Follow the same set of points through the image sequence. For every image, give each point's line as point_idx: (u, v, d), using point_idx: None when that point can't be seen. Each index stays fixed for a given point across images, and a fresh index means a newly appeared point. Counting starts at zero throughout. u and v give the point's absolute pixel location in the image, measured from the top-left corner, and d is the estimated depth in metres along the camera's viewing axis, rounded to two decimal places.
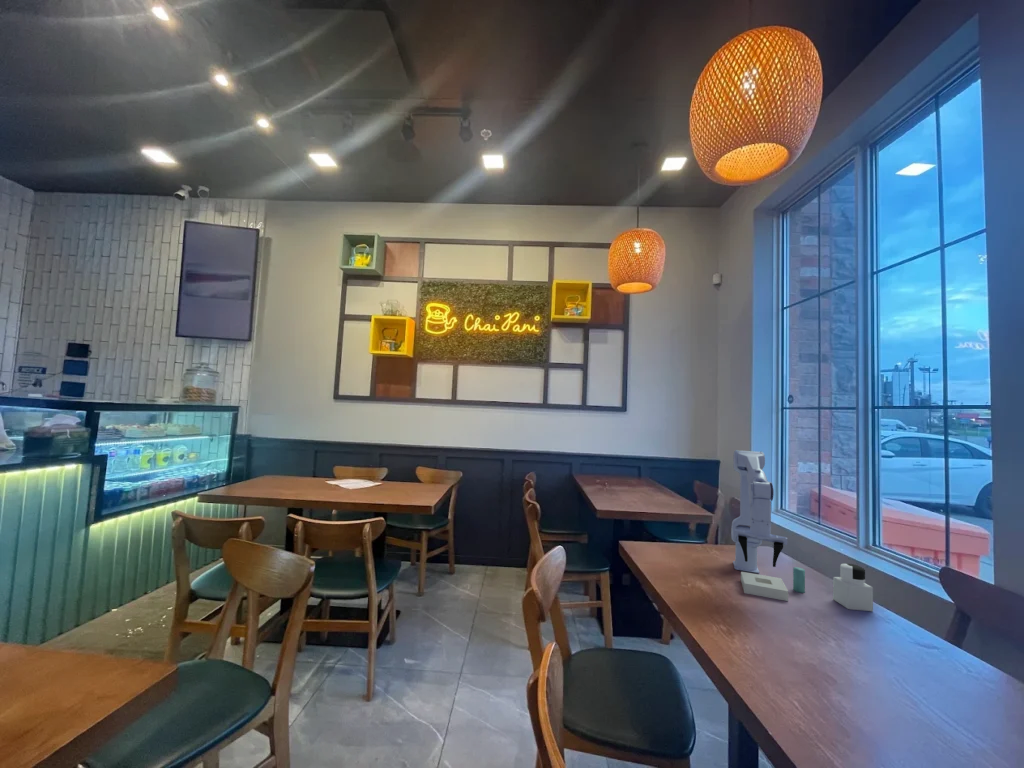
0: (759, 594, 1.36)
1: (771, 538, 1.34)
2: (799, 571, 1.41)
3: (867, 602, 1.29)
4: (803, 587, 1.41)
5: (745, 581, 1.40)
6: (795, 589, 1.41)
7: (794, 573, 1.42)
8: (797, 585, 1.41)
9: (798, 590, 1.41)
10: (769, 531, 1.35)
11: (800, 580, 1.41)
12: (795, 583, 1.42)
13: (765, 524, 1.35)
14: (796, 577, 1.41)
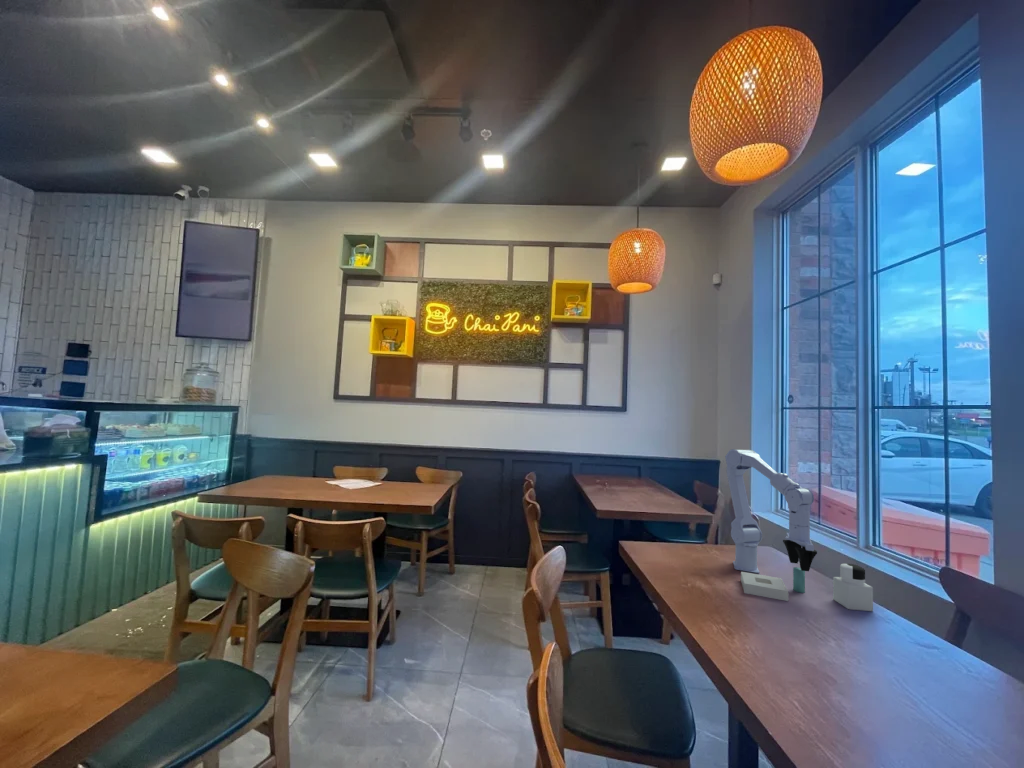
0: (759, 594, 1.36)
1: (796, 541, 1.40)
2: (799, 571, 1.41)
3: (867, 602, 1.29)
4: (803, 587, 1.41)
5: (745, 581, 1.40)
6: (795, 589, 1.41)
7: (794, 573, 1.42)
8: (797, 585, 1.41)
9: (798, 590, 1.41)
10: (798, 535, 1.41)
11: (800, 580, 1.41)
12: (795, 583, 1.42)
13: (793, 527, 1.42)
14: (796, 577, 1.41)
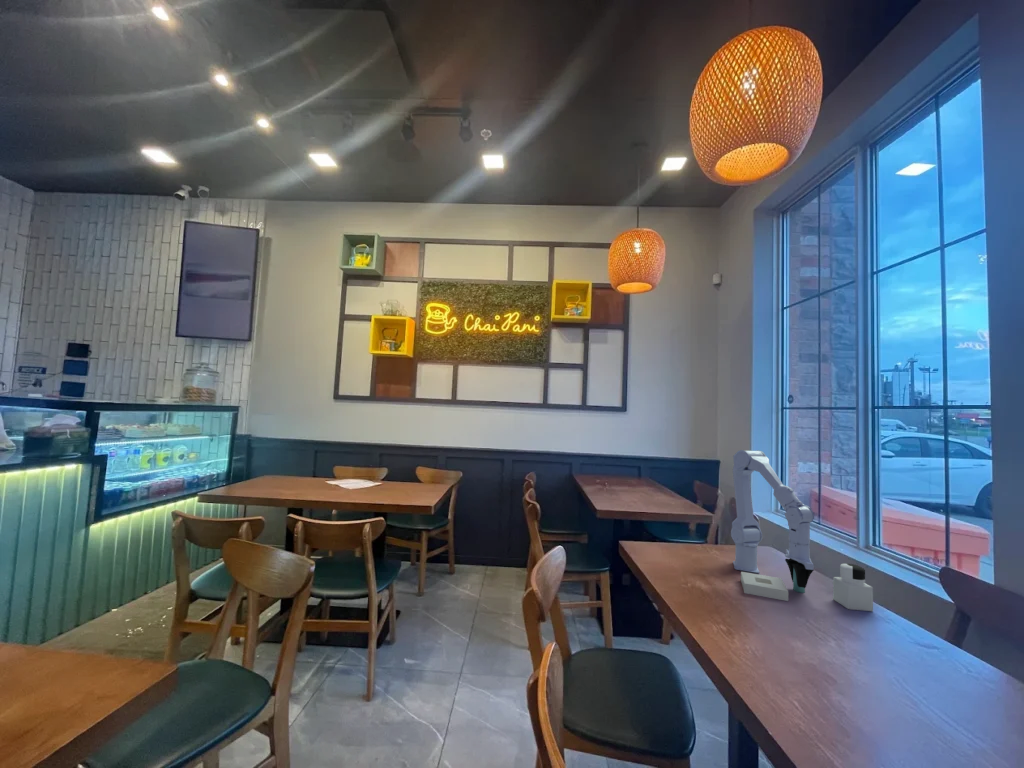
0: (759, 594, 1.36)
1: (796, 559, 1.40)
2: None
3: (867, 602, 1.29)
4: None
5: (745, 581, 1.40)
6: (795, 589, 1.41)
7: (794, 573, 1.42)
8: (797, 585, 1.41)
9: (798, 590, 1.41)
10: (798, 554, 1.41)
11: None
12: (795, 583, 1.42)
13: (792, 545, 1.42)
14: None
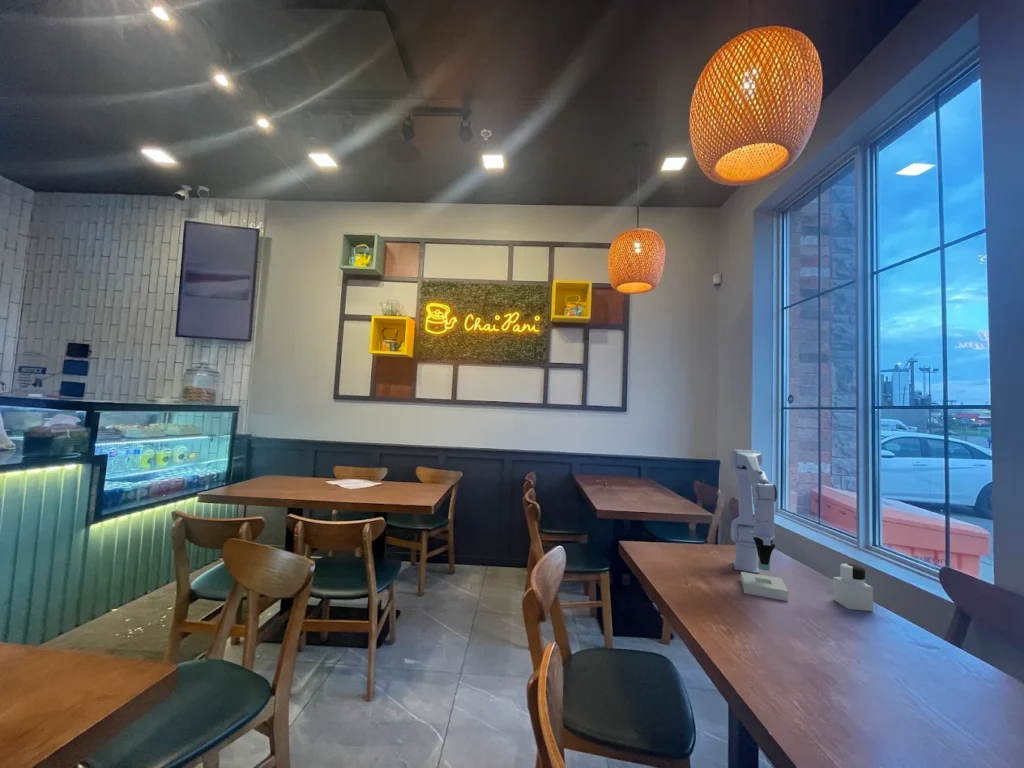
0: (759, 594, 1.36)
1: (757, 536, 1.40)
2: None
3: (867, 602, 1.29)
4: (767, 565, 1.40)
5: (745, 581, 1.40)
6: (760, 567, 1.41)
7: None
8: None
9: (762, 568, 1.40)
10: (760, 530, 1.40)
11: None
12: (759, 561, 1.41)
13: (755, 522, 1.42)
14: None
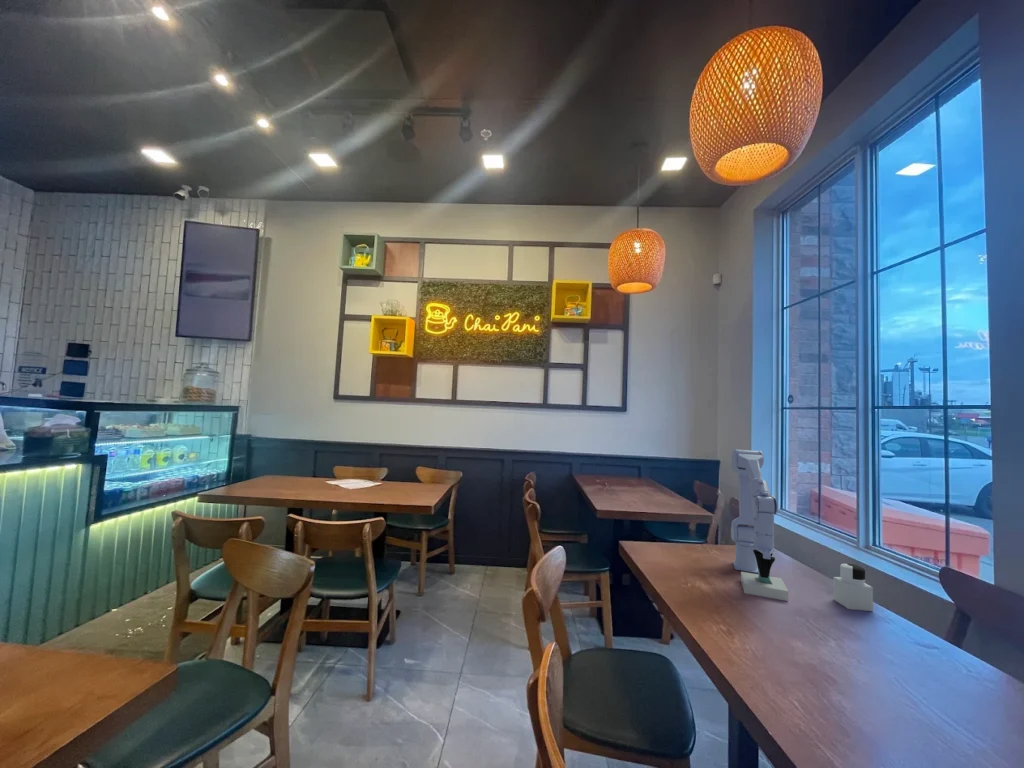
0: (759, 594, 1.36)
1: (757, 549, 1.40)
2: None
3: (867, 602, 1.29)
4: (767, 578, 1.39)
5: (745, 581, 1.40)
6: (759, 580, 1.41)
7: None
8: None
9: (762, 581, 1.40)
10: (760, 543, 1.40)
11: None
12: (759, 574, 1.41)
13: (755, 535, 1.42)
14: None
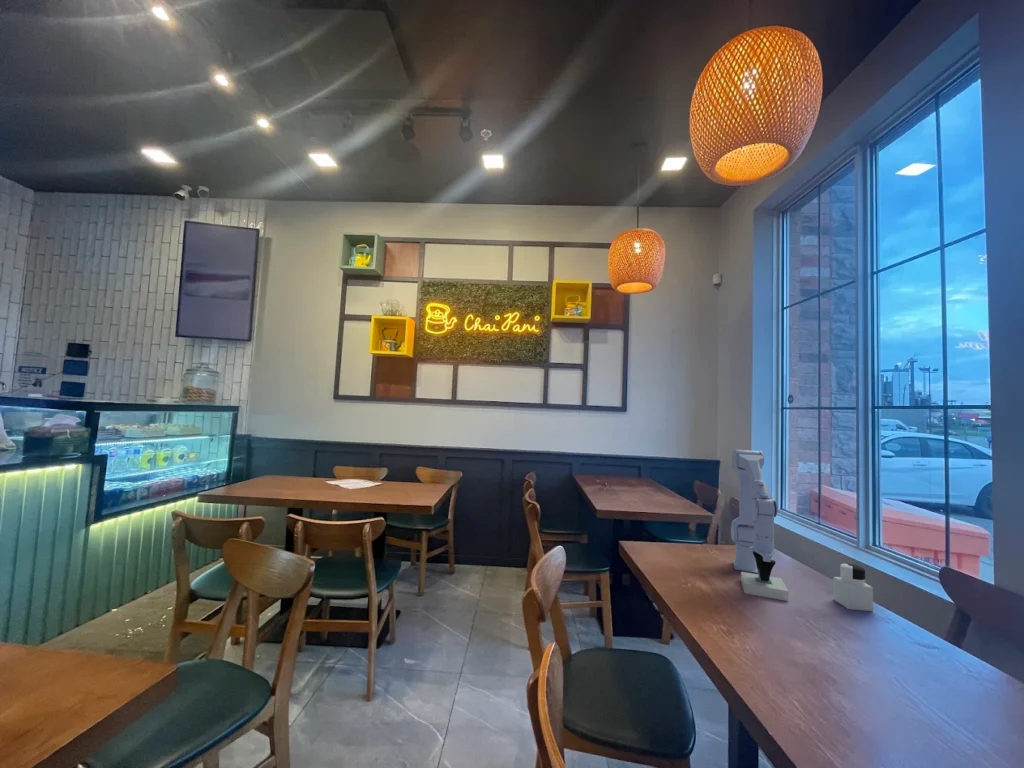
0: (759, 594, 1.36)
1: (757, 551, 1.40)
2: None
3: (867, 602, 1.29)
4: None
5: (745, 581, 1.40)
6: None
7: None
8: None
9: None
10: (760, 546, 1.40)
11: None
12: None
13: (755, 537, 1.42)
14: None
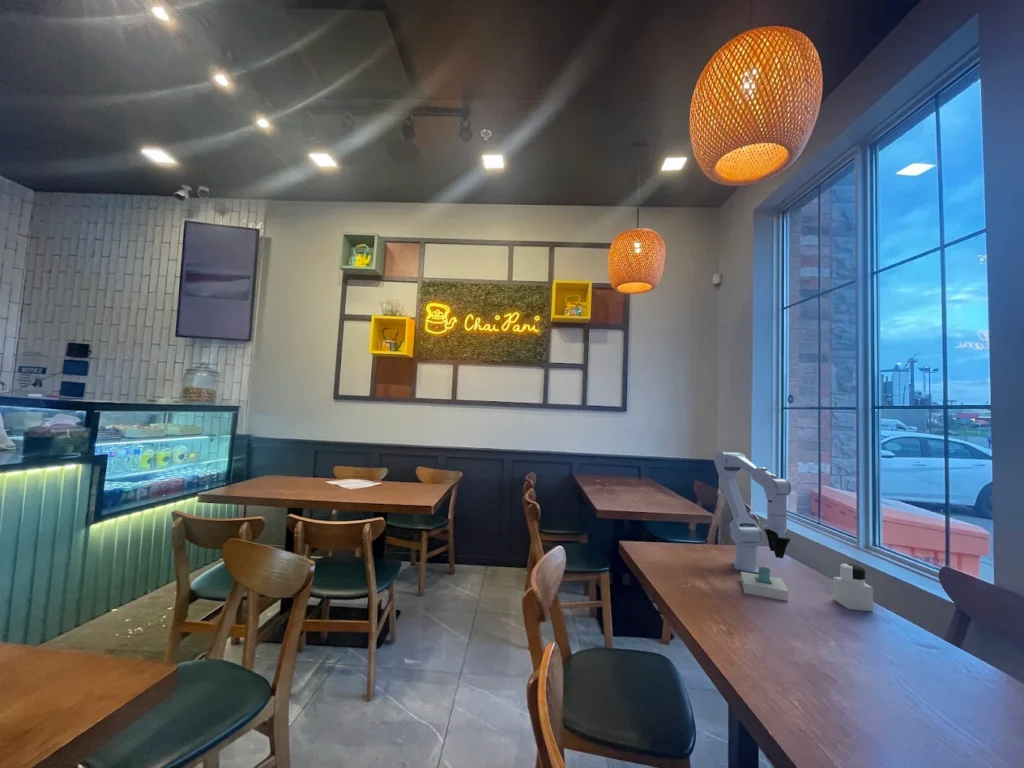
0: (759, 594, 1.36)
1: (771, 529, 1.46)
2: (763, 570, 1.40)
3: (867, 602, 1.29)
4: None
5: (745, 581, 1.40)
6: None
7: (759, 572, 1.41)
8: None
9: None
10: (774, 524, 1.46)
11: (764, 579, 1.40)
12: None
13: (769, 516, 1.48)
14: (760, 576, 1.40)
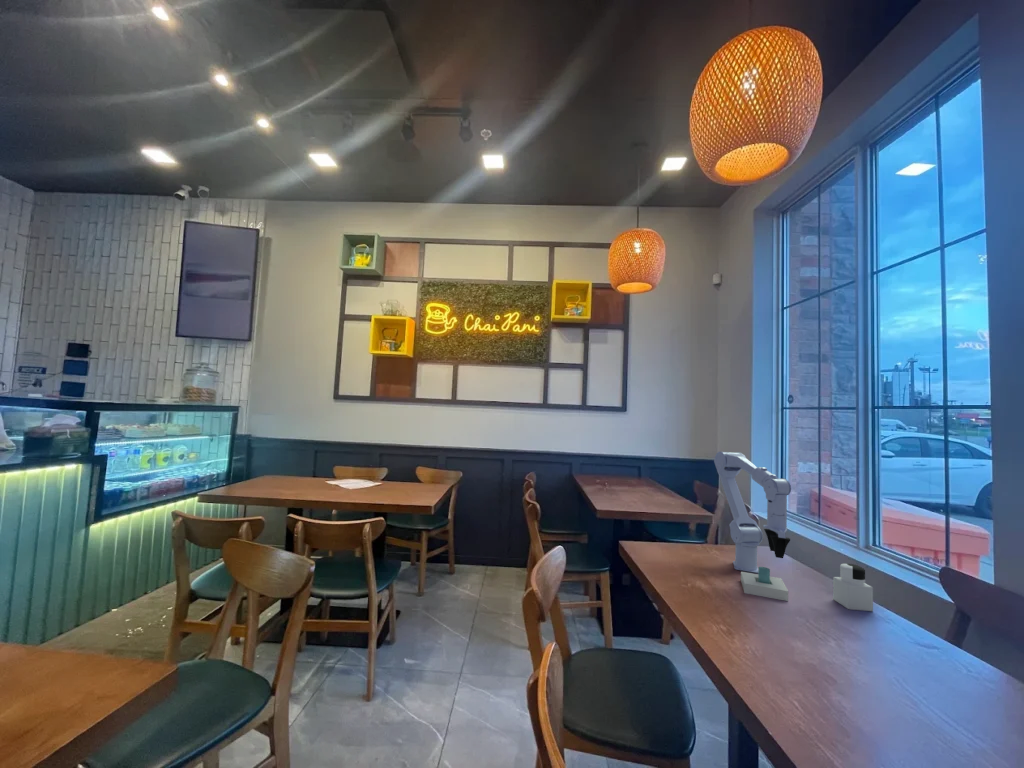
0: (759, 594, 1.36)
1: (771, 529, 1.46)
2: (763, 570, 1.40)
3: (867, 602, 1.29)
4: None
5: (745, 581, 1.40)
6: None
7: (759, 572, 1.41)
8: None
9: None
10: (774, 524, 1.46)
11: (764, 579, 1.40)
12: None
13: (769, 516, 1.48)
14: (760, 576, 1.40)
